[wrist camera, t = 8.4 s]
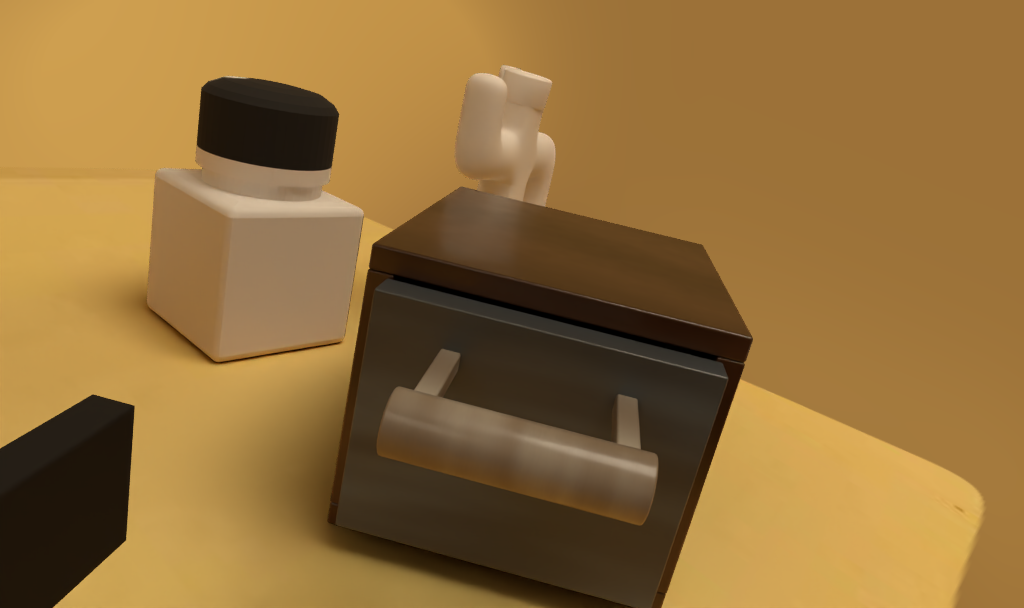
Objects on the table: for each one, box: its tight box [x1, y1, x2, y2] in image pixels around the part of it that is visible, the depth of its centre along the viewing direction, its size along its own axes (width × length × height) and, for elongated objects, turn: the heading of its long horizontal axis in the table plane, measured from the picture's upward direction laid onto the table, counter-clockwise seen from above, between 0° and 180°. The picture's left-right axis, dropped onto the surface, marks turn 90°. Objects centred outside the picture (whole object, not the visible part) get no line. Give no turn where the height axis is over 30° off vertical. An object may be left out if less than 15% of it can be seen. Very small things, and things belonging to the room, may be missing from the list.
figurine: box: [455, 65, 555, 207], centre depth 44 cm, size 7×9×15 cm
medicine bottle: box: [147, 76, 364, 362], centre depth 35 cm, size 7×7×12 cm
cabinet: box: [328, 187, 753, 608], centre depth 28 cm, size 13×11×10 cm
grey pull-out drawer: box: [335, 279, 728, 608], centre depth 24 cm, size 16×10×8 cm, turn 172°
